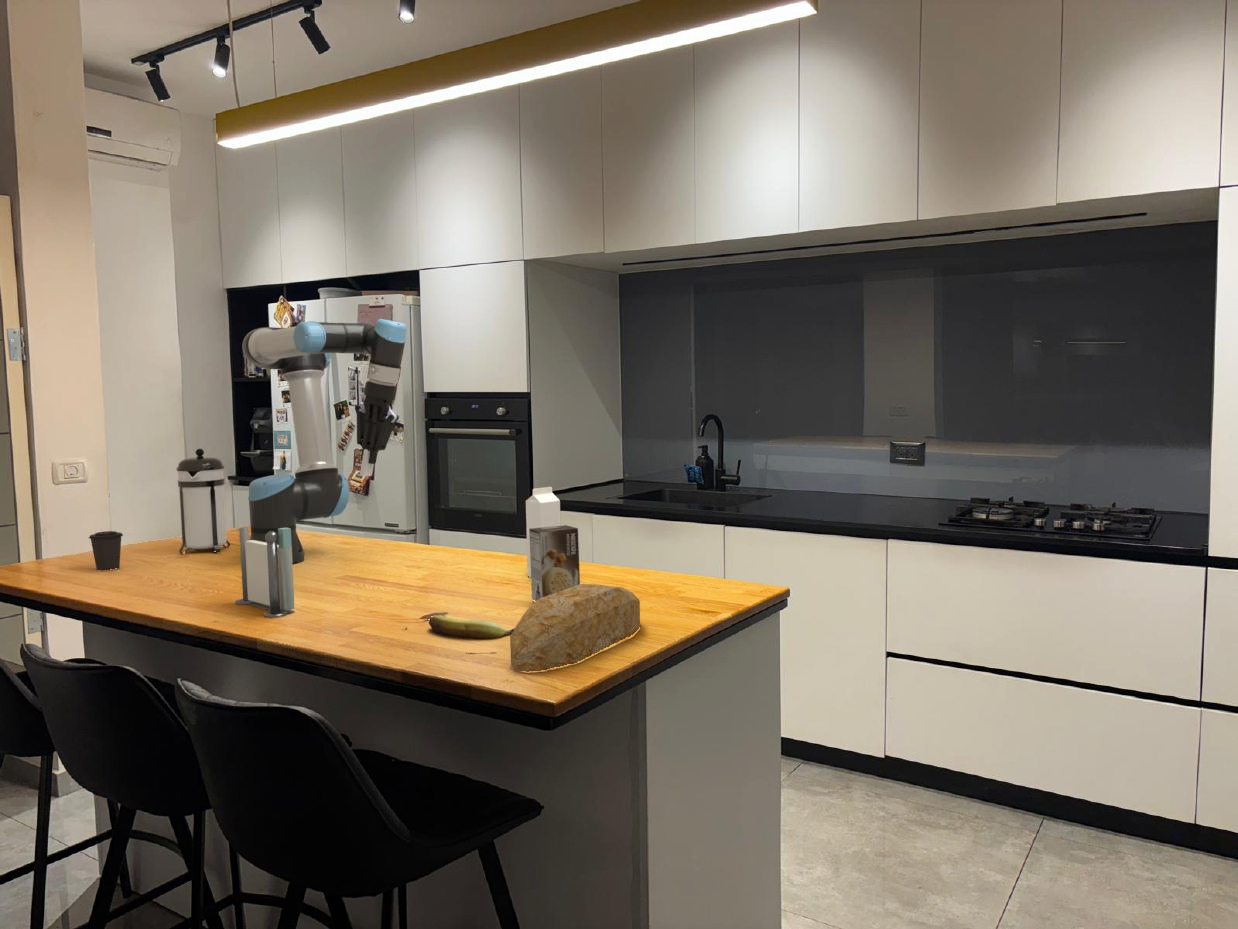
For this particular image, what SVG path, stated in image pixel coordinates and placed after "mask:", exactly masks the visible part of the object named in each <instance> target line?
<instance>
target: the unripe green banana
mask: <svg viewBox="0 0 1238 929" xmlns="http://www.w3.org/2000/svg"><path fill="white" fill-rule="evenodd" d="M447 615H449V612H443V611H442V612H433V613H432V612H431V613H428V614H425V615H423V616H420V617H419V618H418V619H423V620H421V622H423V623H424V622H428V624H429V626H430V629H431V630H432V632H433V633H435V634H436V635H439V636H440V635H441V636H444V637H449V638H450V637H452V638H456V637H457V638H458V639H473V640H490V639H498V638H502V637H506V636H510V635H511V634H512V632H513V631H514V629H515V627H513V628H511V629H505V628H503V627H502V626H501V625H498V624H497V623H494V622H492V621H491V622H490V621H486V620H481V619H480V620H479V619H477V620H476V619H459V618H455V617H447ZM431 616H433V617H431ZM418 619H416V620H415V621H416V622H415V623H418ZM425 619H427V620H425ZM428 619H430V620H428ZM407 630H408V627H406V628H405V629H404V630H403V631H407ZM465 653H466V654H465V655H473V654H474V652H470V653H468V652H465ZM467 653H468V654H467ZM491 654H496V652H491Z"/></svg>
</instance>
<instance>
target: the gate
mask: <svg viewBox="0 0 1238 929" xmlns="http://www.w3.org/2000/svg"><path fill="white" fill-rule="evenodd" d="M238 530H239V548H240V551H239V552H240V567H241V569H240V570H241V585H242V586H241V588H242V599H243V600H244V601H247V600H250V601H254V602H258V603H261V604H265V605H269V606H270V598H269V578H268V558H267V543H266V542H261V541H255V540H250V537H249V527H247V526H245V527H239V528H238ZM249 540H250V541H249ZM278 544H279V545H277V551H278V572H279V593H280V609H284V610H294V609H295V607H296V606H295V592H294V591H295V590H294V589H295V587H294V570H293V569H294V568H293V564H292V544H291V528H279V529H278Z"/></svg>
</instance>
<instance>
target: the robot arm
mask: <svg viewBox="0 0 1238 929" xmlns="http://www.w3.org/2000/svg"><path fill="white" fill-rule="evenodd" d="M407 330H408V329H407V325H406V324H405V323H404V322H398V321H393V320H389V319H382V318H379V319H377V320H376V323H375V324H371V323H370V322H366V321H365V322H364V321H355V322H326V321H325V322H322V321H321V322H320V321H319V322H318V321H314V320H313V321H311V320H310V321H302V322H299V323H297V325H296V326H295V325H294V326H290V327H271V326H267V327H266V326H265V327H259V328H255V329H252V330H251V331H250V332H248V333H247V334H246V335H245V336H244V338H243V341H242V352H243V355H244V357H245V359H247V361H248V362H249V363H251V364H252V365H254V366H256V367H257V368H260V369H264V370H280V374H281V375H280V376H281V378H282V379H283V380H284V381H286V382H287V384H288V389H289V390H288V392H289V397H290V406H291V412H292V421H293V426H294V427H293V428H294V433H295V442H296V450H297V451H296V452H297V456H298V457H297V458H298V464H299V465H298V466H299V467H298V468H297V469H296V470H295V472H294V475H293V474H291V473H279V474H273V475H267V476H263V477H259V478H256V479H254V480H252V481H251V482H250V484H249V485H248V497H247V498H248V499H247V500H248V507H249V519H250V520H249V522H250V523H249V524H250V525H249V526H250V537H249V541H250V540H255V541H261V542H266V540H265V535H266V534H267V533H268V532H271V531H273V532H276V533H277V534H278V529H279V528H291V544H292V563H293V564H296V563H295V562H297V563H299V562H298V561H301V562H302V560H303V561H304V560H305V551H304V549H303V546H302V542H301V540H300V537H299V536H298V532H297V521H303V520H304V521H305V520H315V519H323V518H324V519H326V518H330V517H336V516H339V515H341V514H342V513H343V512H344V511H345V509H346V507H347V505H348V503H349V498H350V485H349V481H348V480H347V478H346V476H345V475H343V474H341V473H339V471H338V470H339V469H338V468H339V467H337V465H335V464H333V462H332V459H331V458H332V457H331V453H330V452H331V451H330V444H329V436H328V429H327V424H326V423H327V422H326V415H325V414H326V413H325V407H324V401H323V394H322V387H321V379H322V377H323V376H324V375H325V369H327V368H328V367H329V365H330V362H331V354H365V355H370V358H369V362H368V363H369V364H368V370H367V374H366V375H367V377H366V378H367V379H368V380H367V381H366V382H365V386H364V392H363V394H364V396H365V398H364V399H363V401H362V402H363V403H362V404H359V405H358V404H357V405H354V410H355V413H356V444H357V445H359V446H361V448H362V450H361V454H360V455H361V456H360V460H361V467H360V471H359V475H360V476H362V477H372V476H373V471H374V466H375V464H376V463H377V459H378V453H379V451H385V450H386V448H387V445H388V443H389V440H390V437H391V435H392V431H393V429H394V427H395V425H396V423H398V422H397V421H399V419H400V416H399V414H395V413H394V411H393V401H394V400H395V399H396V394H397V389H398V387H397V386H396V385H397V384H398V383H399V379H400V372H401V365H402V360H403V356H404V351H405V350H404V349H405V345H406V340H407V336H406V335H407ZM266 543H267V542H266ZM277 545H279V544H278V541H277Z"/></svg>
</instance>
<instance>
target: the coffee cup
mask: <svg viewBox="0 0 1238 929" xmlns="http://www.w3.org/2000/svg"><path fill="white" fill-rule="evenodd" d="M123 536H124V534H123V532H120V531H119V532H118V531H115V530H112V531H111V530H108V531H106V530H105V531H100V532H99V531H98V532H95V533H94V534H90V535H89V536H88V539H90V542H91V543H90V544H91V548H92V553H93V559H94V563H95V569H96V571H97V570H110V569H115V568H119V569H120V565H121V562H120V561H121V550H122V549H121V548H122V547H121V546H122V537H123Z"/></svg>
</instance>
